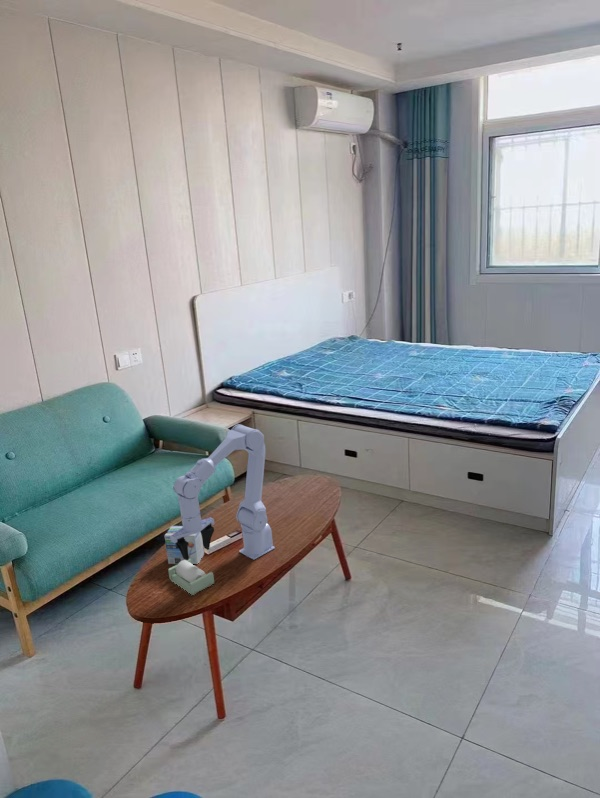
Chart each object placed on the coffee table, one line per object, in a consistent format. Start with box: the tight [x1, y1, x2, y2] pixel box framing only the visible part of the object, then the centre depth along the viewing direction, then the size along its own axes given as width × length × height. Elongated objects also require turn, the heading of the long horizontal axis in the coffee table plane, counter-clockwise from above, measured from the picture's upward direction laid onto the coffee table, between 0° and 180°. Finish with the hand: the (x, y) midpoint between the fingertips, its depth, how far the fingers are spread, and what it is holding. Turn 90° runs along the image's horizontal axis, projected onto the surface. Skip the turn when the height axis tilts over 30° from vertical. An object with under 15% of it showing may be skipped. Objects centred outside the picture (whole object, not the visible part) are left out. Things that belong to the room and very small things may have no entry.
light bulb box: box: [164, 525, 205, 565], centre depth 195 cm, size 11×7×11 cm, turn 82°
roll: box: [176, 560, 206, 583], centre depth 182 cm, size 9×5×5 cm, turn 43°
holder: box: [167, 558, 215, 596], centre depth 182 cm, size 13×8×4 cm, turn 44°
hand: (196, 553), depth 181 cm, fingers open, 7 cm apart
